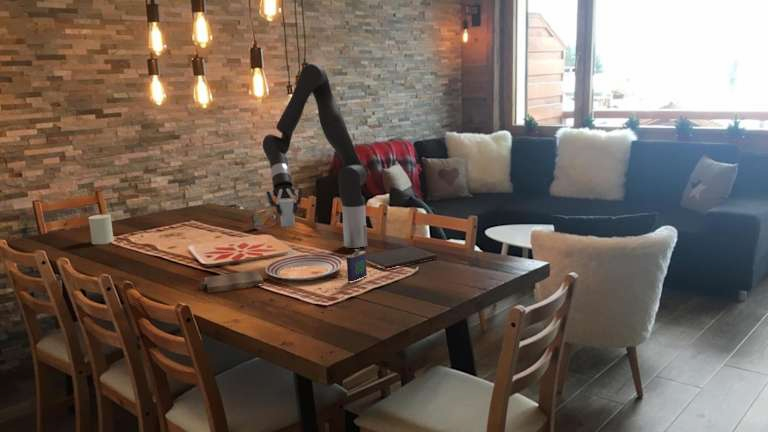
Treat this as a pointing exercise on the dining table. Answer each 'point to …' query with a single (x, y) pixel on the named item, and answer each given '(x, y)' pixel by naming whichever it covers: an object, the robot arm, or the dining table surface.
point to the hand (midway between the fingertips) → (287, 213)
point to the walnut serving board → (231, 281)
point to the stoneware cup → (287, 211)
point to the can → (101, 229)
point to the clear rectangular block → (263, 219)
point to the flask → (356, 265)
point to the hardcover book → (399, 257)
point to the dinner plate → (305, 264)
